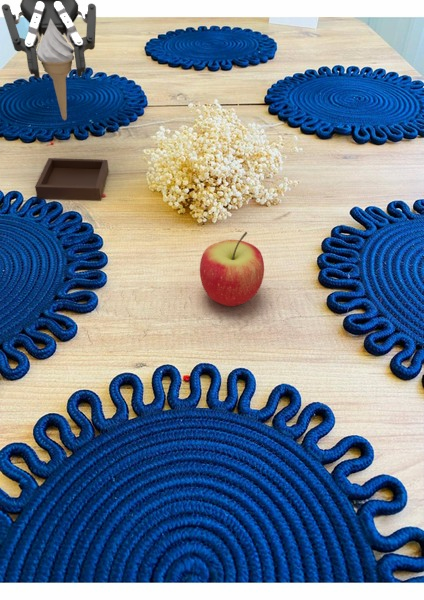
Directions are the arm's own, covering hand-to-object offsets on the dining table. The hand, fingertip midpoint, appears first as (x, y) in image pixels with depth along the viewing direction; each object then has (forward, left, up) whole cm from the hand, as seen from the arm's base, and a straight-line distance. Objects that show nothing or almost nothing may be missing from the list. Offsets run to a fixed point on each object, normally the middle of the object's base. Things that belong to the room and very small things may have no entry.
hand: (58, 74), depth 80 cm
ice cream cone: (0, +2, -8) cm, 8 cm away
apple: (+26, -28, -19) cm, 43 cm away
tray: (0, +2, -19) cm, 19 cm away
